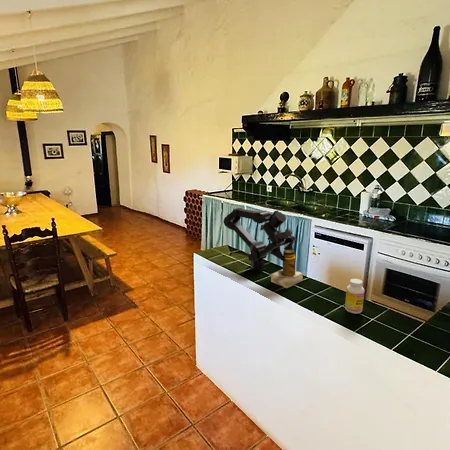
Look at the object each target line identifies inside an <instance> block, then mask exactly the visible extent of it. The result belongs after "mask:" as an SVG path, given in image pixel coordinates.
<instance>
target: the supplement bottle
mask: <svg viewBox="0 0 450 450" xmlns="http://www.w3.org/2000/svg"><path fill="white" fill-rule="evenodd" d="M364 298H365V288H364V287H363V280H361V279H359V278H351V279H350V280H349V285H347V287H346V292H345V304H344V308H345V310H346V311H347V312H348V313H350V314H355V315H356V314H361V313H362V312H363V309H364V300H365V299H364Z"/></svg>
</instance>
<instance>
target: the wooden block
mask: <svg viewBox="0 0 450 450" xmlns="http://www.w3.org/2000/svg"><path fill="white" fill-rule="evenodd" d="M280 270H281V271H283V268H282V269H280ZM295 272H296V275H297V277H279V274H278V270H277V271H275V272H272V273H271V274H270V282H271V283H274V284H275V285H277V286H281V287H283V288H285V289H288V288H290V287H292V286H293V287H294V286H295V285H297V284H299V283H301V282H303V279H304V277H303V276H304V273H303V272H300V271H298V270H295Z"/></svg>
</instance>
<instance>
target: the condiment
mask: <svg viewBox="0 0 450 450" xmlns="http://www.w3.org/2000/svg"><path fill="white" fill-rule="evenodd" d="M295 252H296V251H294V249H293V250H289V249H288V250H285V249H283V253H282V254H283V256H284V258H285V260H286V261H285V262H284V261H282V269H283V271H281V270H282V269H280V270H277V271H278V274H279V277H297V275H296V272H295V271H296V256H294V255H295Z"/></svg>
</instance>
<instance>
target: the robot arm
mask: <svg viewBox="0 0 450 450" xmlns="http://www.w3.org/2000/svg"><path fill="white" fill-rule="evenodd" d="M269 212H270V211H268V210H259V211H258V210H257V211H255V210H250V209H246V208H245V209H244V208H242V207H237V208H234V209H233V210H232V211H231V212H229V214H227V215H226V216H225V217H224V218H223V225H224V226H225V227H226V228H228V229H229V230H231V231H233V232H234V233H235V234H237V236H239V238H240V239H241V240H242V241H243V242H244V243H245V244H246V246H247V247H248V248H249V252H250V253H249V254H248V256H247V257H248V260H249V261H251V263H250V265H251V267H250V268H248V270H250V271H253V272H255V273H260V272H265V271H266V270H267V269H266V268H265V262H264V260H265V259H266V258H267V256H268V254H269V255H272V256H274V257H276V258H277V259H279V260H280V261H282V262H283V261H284V262H285V261H286V260H285V258H284V256H283V254H284V253H282V251H281V247H282V246H284V248H283V250H288V249H289V250H293V251H294V247H293V246H294V245H293V244H294V243H295V241H297V238H296V236H294V235H293V231H292V228H290V227H288V228H286V229H284V231H282V230H278V228H279V227H281V225H282V224H283V223H284V222H286V220H287V217H286V216H285V214H284V213H282V212H281V211H279V209H278V210H274V211H273V213H269ZM242 218H245V219H249V220H252V222H254V223H256V224H258V225H260V228H259V231H264V232H265V234H266V235H267V240H268V241H269V240H270V243H268V244H267V245H266V244H265V243H264V242H263V241H256V240H255V238H254V237H253V236H252V235H251V234H250V233H249V232H248V231H247V230H246V229H245V227H243V226H242V224H241V219H242ZM294 256H295V255H294ZM295 257H296V256H295Z"/></svg>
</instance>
